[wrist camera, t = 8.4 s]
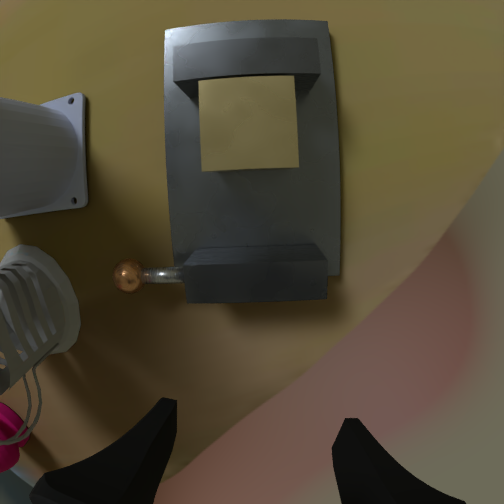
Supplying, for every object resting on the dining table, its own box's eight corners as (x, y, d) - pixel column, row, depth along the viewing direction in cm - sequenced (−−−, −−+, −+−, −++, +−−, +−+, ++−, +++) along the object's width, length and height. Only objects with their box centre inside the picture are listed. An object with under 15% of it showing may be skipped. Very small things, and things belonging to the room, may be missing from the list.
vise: (180, 275, 20) (159, 302, 16) (169, 36, 16) (147, 6, 12) (335, 270, 20) (354, 296, 15) (324, 27, 16) (339, -6, 12)
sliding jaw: (129, 281, 19) (105, 302, 16) (124, 251, 19) (99, 267, 15) (315, 277, 19) (326, 299, 15) (316, 244, 18) (327, 260, 15)
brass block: (217, 172, 18) (201, 171, 13) (214, 104, 17) (198, 80, 12) (288, 169, 17) (298, 167, 13) (285, 101, 17) (294, 75, 12)
